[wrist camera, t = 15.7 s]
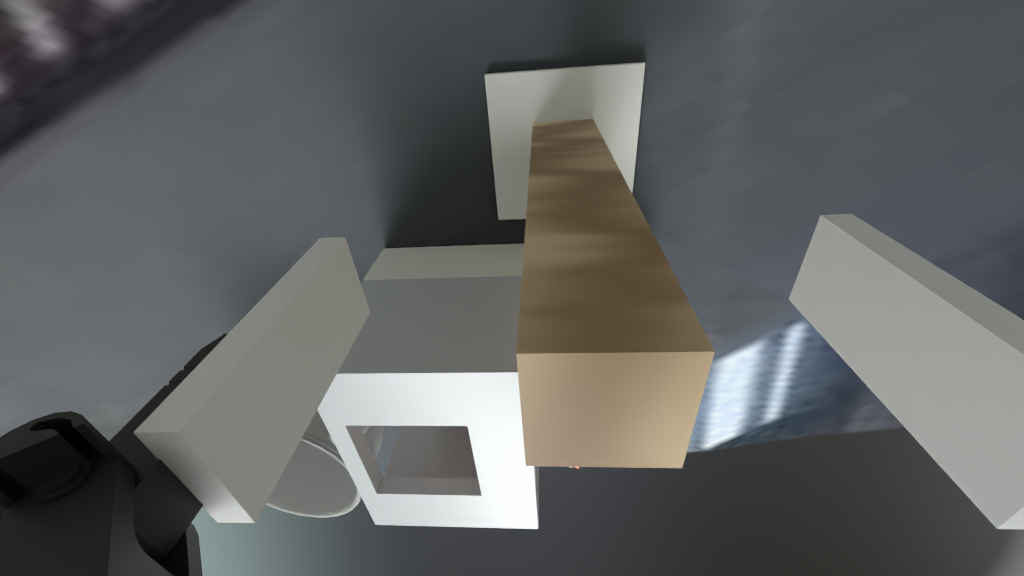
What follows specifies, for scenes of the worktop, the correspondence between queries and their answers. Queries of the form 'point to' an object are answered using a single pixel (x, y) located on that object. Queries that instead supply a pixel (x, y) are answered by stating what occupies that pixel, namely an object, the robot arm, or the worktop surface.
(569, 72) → the pad
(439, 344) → the white boxy piece
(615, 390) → the oak stick
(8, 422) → the worktop surface
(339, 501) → the teacup
